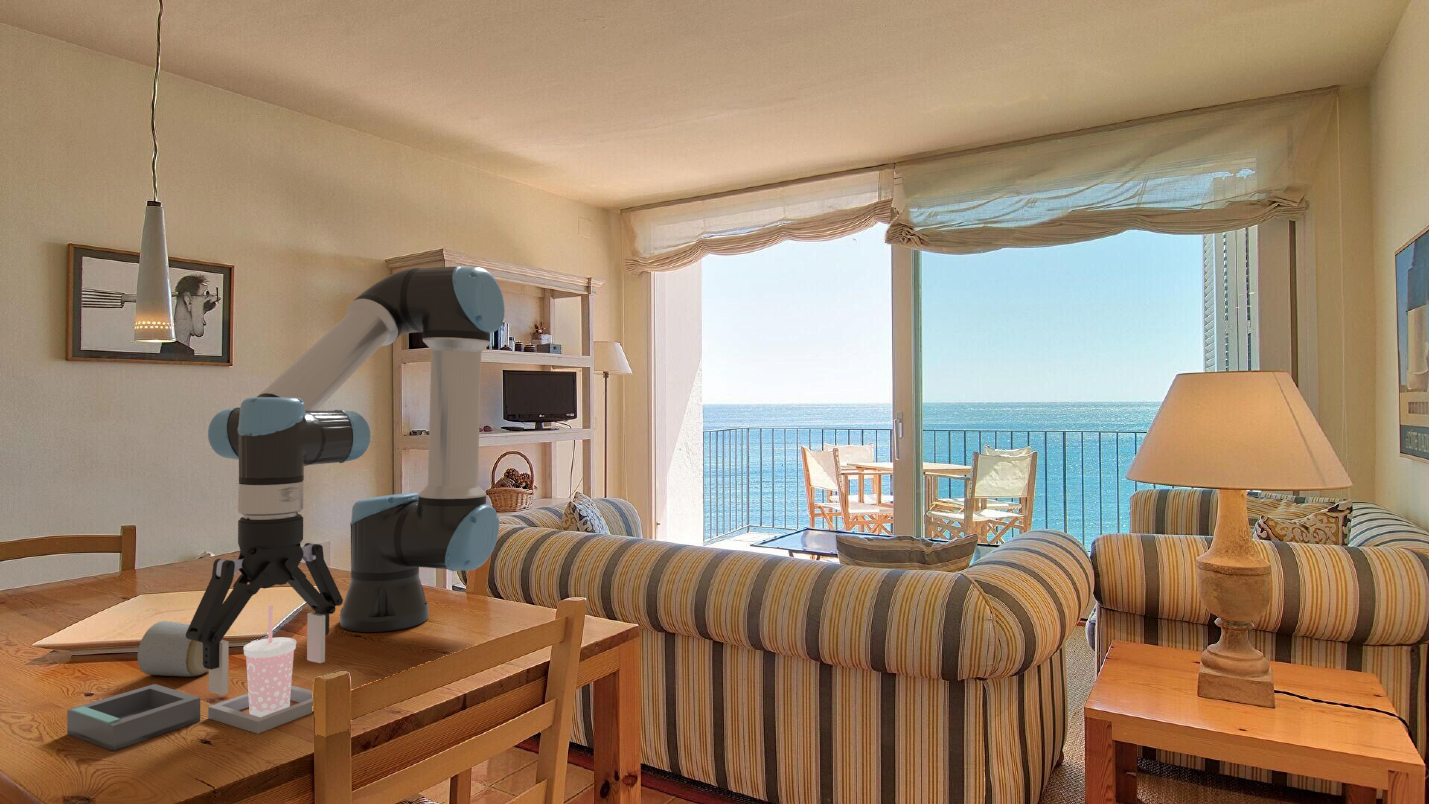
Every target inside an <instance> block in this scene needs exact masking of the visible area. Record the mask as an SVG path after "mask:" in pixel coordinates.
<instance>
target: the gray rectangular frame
mask: <svg viewBox="0 0 1429 804" xmlns="http://www.w3.org/2000/svg"><path fill="white" fill-rule="evenodd" d="M312 691H313V690H311V689H307V688H303V687H300V686H296V685H292V684H291V696H290V701H293V702H295V704H292V705H290V707H287V708H284V709H282V710H279V711H276V712H273V713H271V714H268V715H265V716H263V717H258V716H254V715H251V714H250V713H247V712H245V711H241V710H245V709H247V708H249V696H248V692H247V693H245V694H242V695H239V696H235V697H232V698H230V699H227V700H224V701H221V702H218V703H215V704H213V705H210V706H209V705H208V706H207V718H208V719H210V720H213V721H216V722H219V723H223V724H225V725H229V726H231V727H235V728H238V729H242V730H244V731H247V732H250V731H251V733H253V734H257V735H259V734H261V733H263V732H267V731H269V730H271V729H274V728H277V727H279V726H282V725H284V724H287V723H290V722H291V721H294V720H297V719H301V718H302V717H304V716H308V715H310V714H313V713H312V706H313V698H312ZM296 702H297V703H296Z"/></svg>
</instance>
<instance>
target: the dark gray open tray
mask: <svg viewBox="0 0 1429 804" xmlns="http://www.w3.org/2000/svg"><path fill="white" fill-rule="evenodd" d="M66 715H67V720H66V721H67V727H66V728H67V729H66V730H67V731H66V732H67V735H69V736H71V737H74V738H77V739H79V740H82V741H84V742H87V743H90V744H93V745H94V746H97V747H98V746H99V747H100V746H101V748H104V749H105V748H107V749H106V750H109V751H111V752H116V751H118V749H119V750H121V749H124V748H126V747H130V746H133V745H136V744H139V743H141V742H144V741H147V740H150V739H153V738H155V737H159V736H161V735H163V734H164V735H165V734H167V733H169V732H172V731H176V730H179V729H181V728H184V727H188V726H190V725H192V724H196V723H198V722H201V697H200V696H196V695H194V694H191V693H187V692H183V691H179V690H176V689H173V688H170V687H167V686H163V685H159V684H156V683H152V684H150V685H146V686H143V687H140V688H137V689H133V690H130V691H129V690H128V691H126V692H122V693H119V694H115V695H113V696H110V697H105V698H102V699H100V700H95V701H92V702H89V703H84V704H82V705H78V706H75V707H72V708H68V709H67V714H66Z"/></svg>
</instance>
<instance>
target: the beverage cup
mask: <svg viewBox="0 0 1429 804" xmlns="http://www.w3.org/2000/svg"><path fill="white" fill-rule="evenodd" d="M273 607H274V606H273V605H269V606H268V611H267V612H268V613H267V614H268V616H267V617H268V626H267V627H268V630H267V631H268V633H267V635H268V636H267V638H263V639H258V640H254V641H251V642H249V643H246V644H245V645H244V646H243V655H244V657H245V660H246V661H245V662H246V663H245V664H246V676H247V679H246V680H247V693H248V696H249V707H248V708H249V714H251V715H254V716H258V717H263V716H265V715H268V714H271V713H273V712H276V711H279V710H282V709H284V708H287V707H290V706H291V700H290V696H291V685H292V681H293V667H294V666H293V665H294V655H295V650H296V649H297V646H296V645H297V640H296V638H292V637H285V636H284V637H282V636H281V637H280V636H279V637H273V614H274V613H273V610H274V608H273Z"/></svg>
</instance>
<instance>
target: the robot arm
mask: <svg viewBox="0 0 1429 804" xmlns="http://www.w3.org/2000/svg"><path fill="white" fill-rule="evenodd" d="M505 312H506V311H505V301H504V296H503V293H502V290H501V287H500V285H499V283H498V282H497V280H496V278H495V277H494V276H493V275H492V274H491V272H489V271H488V270H486V269H485V268H482V267H479V266H478V267H475V266H463V265H457V266H441V267H426V268H425V267H422V268H421V267H410V268H406V269H402V270H399V271H397V272H393V273H391V274H390V275H388V276H386V277H384V278H383V279H380V280H379V281H377V282H376V283H374V284H372V285H371V286H370V287H368V288H367V289H365V291H363V292H362V293H360V295H358V296H357V297H356V298H355V299H354V300H352V301H351V302H350V303H349V304H348V306H347V308H346V314H345V316H344V317H343V318H341V320H340V321H338V322H337V323H336V324H335V325H334V326H333V327H332V328H330V329H329V330H328V331H327V332H326V333H325V334H324V335H323V336H322V337H321V338H320V339H318V340H317V342H315V343H314V344H313V345H312V346H311V347H310V348H309V349H308V350H306V351H305V352H304V353H303V354H302V355H301V356H300V357H298V359H297V360H296V361H294V362H293V363H292V364H291V365H290V366H289V367H288V368H286V369H285V371H284V372H282V373H281V374H280V375H279V376H278V377H277V378H275V379H274V380H273V381H272V382H271V383H270V384H269V385H268V386H267V387H266V388H265V389H264V390H262V392H261V393H259V394H258V395H257V396H256V397H255V396H252V397H251V396H250V397H247V398H245V399H244V400H243V401H242V402H241V403H240V406H239V407H232V408H226V409H224V410H220V411H219V412H217V413H216V414H215V415H214V416H213V417H212V419H211V421H210V423H209V425H208V429H207V438H208V439H207V440H208V443H209V445H210V447H211V449H212V450H213V451H214V453H216V454H217V455H218V456H220V457H222V458H225V459H230V460H231V459H232V460H238V486H237V487H238V493H237V512H238V514H240V515H242V517H240V518H239V519H238V520H237V521H238V522H237V544H238V547H239V555H238V558H237V559H223V558H216V559H215V560H214V561H213V564H212V565H213V566H212V573H211V578H210V579H209V582H208V584H207V587H206V589H205V592H204V593H203V595H202V598H201V599H200V602H199V603H198V606H197V608H196V611H195V613H194V614H193V616H192V619H191V622H190V623H189V624H190V625H189V628H188V630H187V632H186V638H187V639H190V640H194V641H198V642H202V643H203V666H204V668H207V669H209V670H208V693H212V694H216V695H220V696H225V695H228V694H229V645H230V644H229V640H225V639H223V638H224V637H226V634H227V633H228V631H229V630H230V629H231V627H232V626H233V624H234V623H235V622H236V620H237V618H238V617H239V615H240V614H241V612H242V611H243V610H244V608H245V607H246V606H247V604H248V603H249V601H250V600H251V598H252V597H253V596H254V595H257V594H258V592H259V591H260V589H268V588H271V587H274V586H275V585H279V586H283V585H287V584H288V585H289V586H291V588H292V589H293V590H294V591H295V592H296V593H297V594H298V595H299V597H301V598H302V600H304V601H305V603H306V604H307V605H308V606H309V607H310V608H311V609H312V610H313V611H314V612H308V613H307V617H306V618H307V629H306V630H307V631H306V634H307V635H306V638H307V639H306V643H307V644H306V660H307V661H309V662H312V663H317V664H322V663H325V662H326V636H328V635H329V634H330V615H333V614H334V613H335V612H336V609H337V608H336V607H337V606H338V607H339V606H342V604H343V606H342V607H341V609H340V613H339V626H340V627H341V628H342V629H345V630H348V631H353V632H358V633H359V632H360V633H361V632H362V633H379V632H391V631H396V630H397V631H398V630H403V629H407V628H412V627H415V626H417V625H420V624H423V623H424V622H426V621H427V620H428V619H429V616H430V615H429V612H430V611H429V607H430V606H429V602H428V601H427V600H426V595H425V592H424V588H423V585H422V582H421V579H420V568H426V569H427V568H429V569H436V570H437V569H438V570H448V571H451V572H456V571H475V570H477V569H479V568H480V567H482V566H483V565H484V564H485V563H486V562H487V561H488V559H489V558H490V556H491V554H492V553H493V552H494V549H495V547H496V544H497V541H498V538H499V537H498V536H499V531H500V519H499V516H498V515H497V511H496V509H495V508H494V507H493V506H491V505H489V504H487V493H486V491H484V489H483V488H482V487H480V485H479V457H480V455H479V454H480V453H479V452H480V422H481V421H480V420H481V419H480V415H481V412H480V411H481V381H482V380H481V379H482V376H481V375H482V373H481V371H482V352H483V351H484V350H485V349H486V348H487V347H488V346H489V345H490V344H491V334H492V333H495V332H496V331H498V330H499V329H501V327H502V323H503V322H504V318H505ZM411 333H412V334H413V333H422V342H423V343H424V344H425V345H426V346H427V347H428V348H429V350H430V352H431V353H430V354H431V355H430V387H429V388H430V391H429V392H430V393H429V425H428V427H429V428H428V429H429V431H428V460H427V461H428V462H427V463H428V465H427V468H428V470H427V484H426V486H425V487H424V488H423V489H422V490H421V491H420V492H419V493H418V492H406V493H397V494H390V495H389V494H388V495H380V496H379V495H378V496H373V497H368V498H367V497H366V498H362V499H359V500H357V501H356V502H355V503H354V504H353V505H352V509H351V519H350V520H351V521H350V523H349V525H350V584H349V586H348V588H347V591H346V595H345V599H343V596H342V595H341V592H340V591H339V588H338V585H337V584H336V581H335V579H334V578H333V576H332V573H331V572H330V570H329V567H328V564H327V563H326V561H325V558H324V557H325V556H324V547H323V545H322V544H319V543H311V542H306V543H305V544H304V545H303V546H302V545H301V543H302V541H303V540H304V516H303V515H302V514H300V513H299V512H301V511H302V510H303V509H304V480H305V479H304V477H305V475H304V474H305V467H306V466H313V465H323V464H334V463H339V464H344V463H345V462H348V461H354V460H357V459H359V458H360V457H362V456H363V455H364V454H365V453H366V452H367V450H368V448H369V446H370V443H371V429H370V426H369V423H368V422H367V420H366V419H365V417H364V416H362V415H361V414H360V413H358V412H357V411H354V410H353V411H351V410H343V409H334V410H319V409H320V408H321V407H322V406H323V405H324V404H325V403H326V402H327V401H328V400H329V398H331V397H333V395H334V394H335V393H336V391H338V390H339V389H340V388H341V387H342V386H343V385H344V384H345V383H346V382H348V380H349V379H350V378H351V377H352V376H353V375H354V373H356V372H357V371H358V369H360V368H361V367H362V365H363V364H365V363H366V362H367V360H369V359H370V357H372V355H374V354H375V353H376V352H377V351H378V349H379V348H381V347H385V346H390V345H391V344H393V343H394V342H395V341H396V340H397V339H398V338H399V337H401V336H404V335H407V334H411ZM302 560H303V561H304V563H305V565H306V567H307V570H308V571H309V574H310V576H311V578H312V579H313V582H314V584H315V586H316V587H315V586H314V584H312V582H311V581H310V580H308V578H307V575H306V574H305V573H304V571H302V569H301V568H299V565H300V563H301V562H302ZM238 571H239V573H241V574H240V575H239V576H238V578H237V579H236V581H235V582H234V584H233V579H234V577H235V576H237V575H238ZM232 584H233V585H232ZM231 585H232V590H231V592H229V590H230V588H231ZM316 588H317V589H316ZM228 592H229V594H228Z"/></svg>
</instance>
